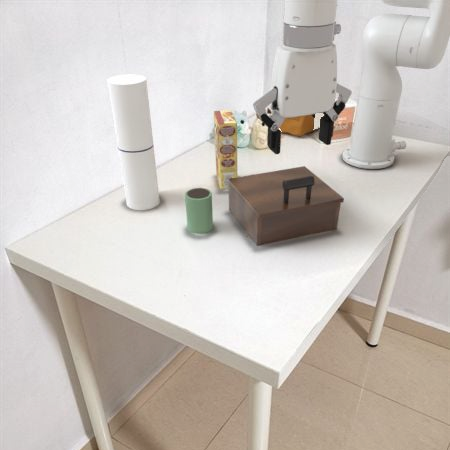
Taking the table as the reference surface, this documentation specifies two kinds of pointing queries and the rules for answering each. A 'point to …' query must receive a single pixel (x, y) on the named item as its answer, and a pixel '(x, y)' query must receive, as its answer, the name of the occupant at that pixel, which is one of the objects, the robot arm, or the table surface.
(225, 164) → the candy box
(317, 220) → the chest
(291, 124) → the coffee package
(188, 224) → the pencil cup
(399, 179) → the table surface
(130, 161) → the cylindrical container
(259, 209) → the chest lid
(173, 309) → the table surface
